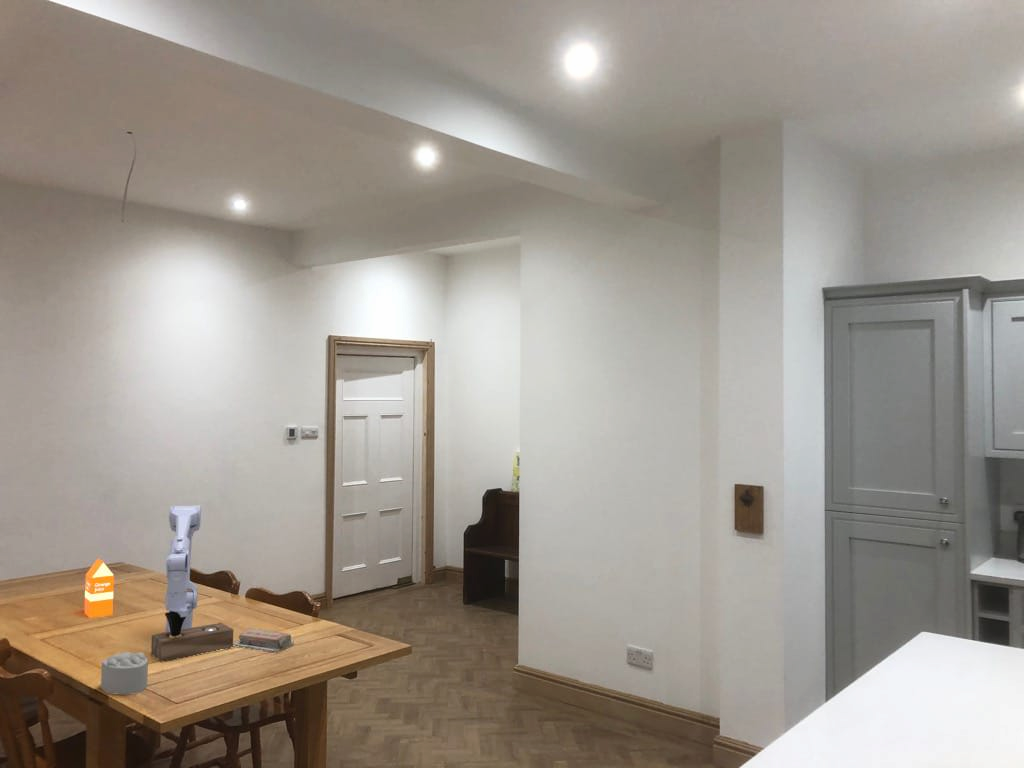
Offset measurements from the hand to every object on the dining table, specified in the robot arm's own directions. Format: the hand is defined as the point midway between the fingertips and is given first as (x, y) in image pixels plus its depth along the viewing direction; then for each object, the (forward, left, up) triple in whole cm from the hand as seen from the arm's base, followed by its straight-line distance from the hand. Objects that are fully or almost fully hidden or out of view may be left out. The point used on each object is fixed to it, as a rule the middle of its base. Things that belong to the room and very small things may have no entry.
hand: (175, 635), depth 241 cm
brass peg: (0, 0, -6) cm, 6 cm away
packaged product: (+8, +25, -7) cm, 27 cm away
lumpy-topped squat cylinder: (+20, -20, -6) cm, 29 cm away
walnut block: (0, +6, -6) cm, 8 cm away
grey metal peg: (0, +11, -6) cm, 12 cm away
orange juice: (-66, -5, -6) cm, 67 cm away
